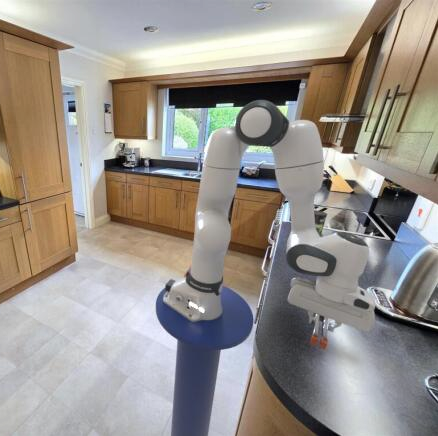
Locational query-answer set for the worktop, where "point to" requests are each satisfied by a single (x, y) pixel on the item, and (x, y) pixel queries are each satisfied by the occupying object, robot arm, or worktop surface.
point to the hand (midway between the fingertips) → (320, 326)
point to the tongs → (323, 334)
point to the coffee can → (319, 220)
